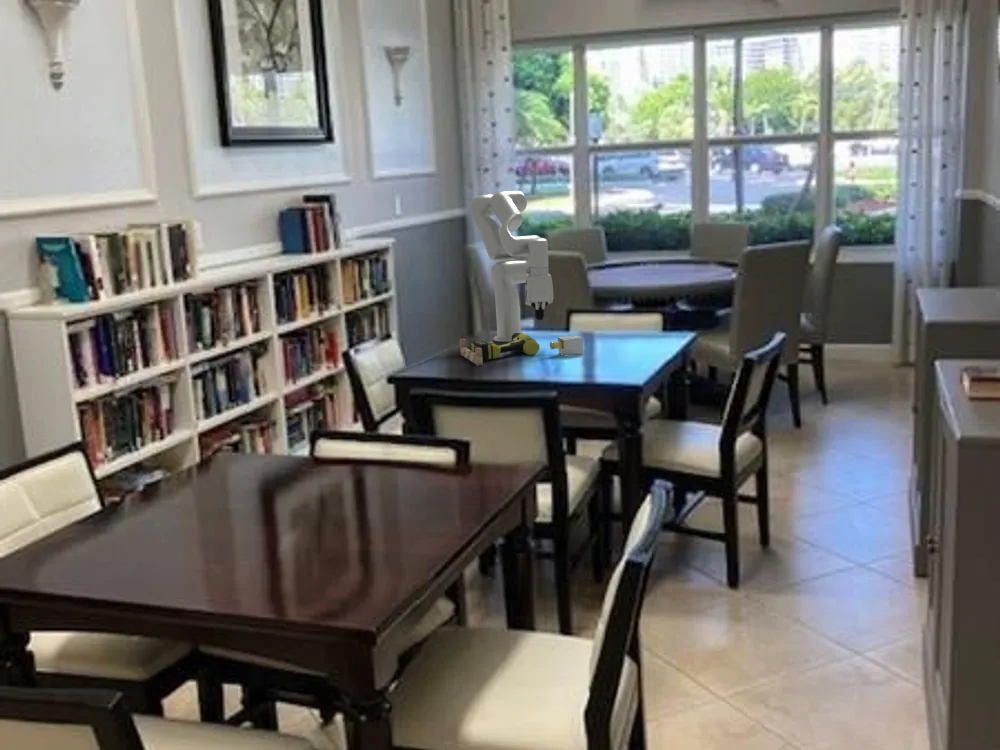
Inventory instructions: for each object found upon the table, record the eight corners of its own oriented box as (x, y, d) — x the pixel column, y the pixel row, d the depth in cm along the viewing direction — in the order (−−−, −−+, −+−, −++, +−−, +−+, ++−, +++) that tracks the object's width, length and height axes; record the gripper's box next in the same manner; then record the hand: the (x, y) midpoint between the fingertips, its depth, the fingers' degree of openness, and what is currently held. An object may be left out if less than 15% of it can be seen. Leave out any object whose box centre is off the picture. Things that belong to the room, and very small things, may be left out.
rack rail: (460, 355, 394) (459, 339, 393) (465, 354, 395) (464, 338, 393) (477, 365, 372) (476, 348, 370) (482, 364, 372) (481, 348, 371)
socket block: (558, 353, 385) (557, 337, 384) (576, 351, 387) (575, 335, 386) (565, 356, 379) (564, 339, 378) (583, 354, 381) (582, 337, 379)
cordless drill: (461, 351, 401) (523, 344, 407) (477, 364, 378) (543, 357, 384) (460, 333, 399) (522, 327, 406) (476, 345, 376) (542, 338, 382)
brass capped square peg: (550, 348, 382) (549, 341, 381) (575, 346, 384) (574, 338, 384) (552, 350, 379) (552, 342, 379) (577, 347, 382) (577, 339, 381)
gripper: (522, 274, 387) (523, 323, 391) (560, 271, 391) (561, 319, 395) (516, 271, 394) (517, 319, 398) (553, 268, 398) (554, 315, 402)
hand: (539, 319), depth 397 cm, fingers closed
